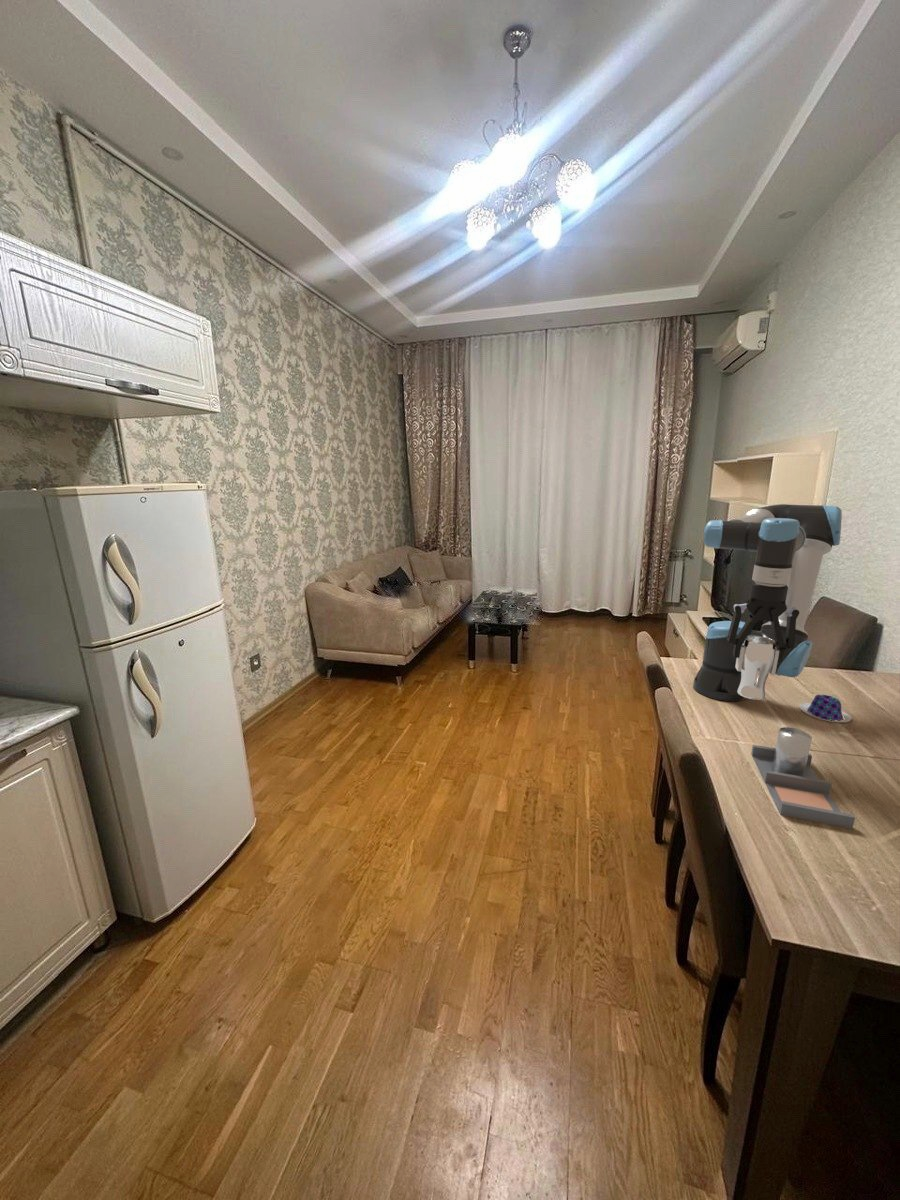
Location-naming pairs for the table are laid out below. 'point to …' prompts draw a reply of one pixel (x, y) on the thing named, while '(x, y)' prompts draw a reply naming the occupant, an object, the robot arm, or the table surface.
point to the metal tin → (791, 751)
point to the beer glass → (756, 666)
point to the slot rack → (800, 792)
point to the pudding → (825, 708)
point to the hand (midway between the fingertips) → (754, 671)
